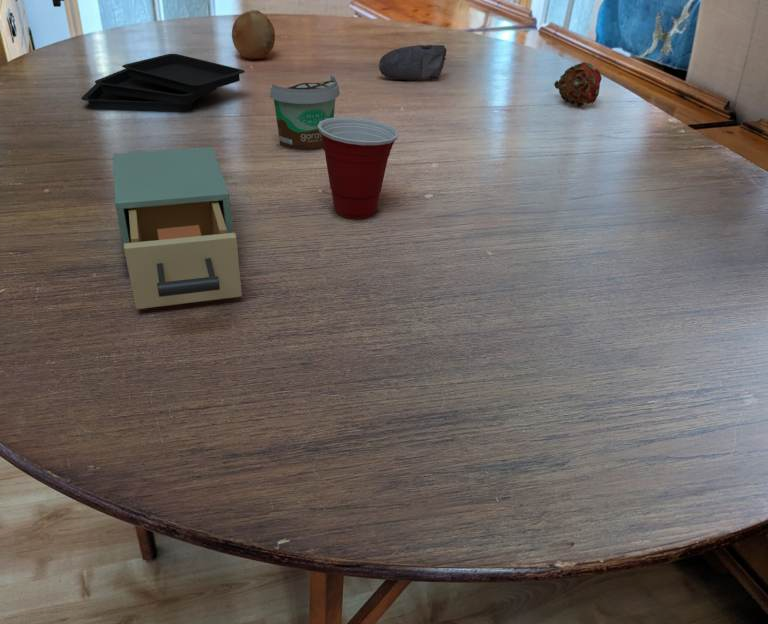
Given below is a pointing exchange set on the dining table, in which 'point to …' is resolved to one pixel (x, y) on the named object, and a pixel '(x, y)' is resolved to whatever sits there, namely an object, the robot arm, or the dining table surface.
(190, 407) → the dining table surface
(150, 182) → the cabinet
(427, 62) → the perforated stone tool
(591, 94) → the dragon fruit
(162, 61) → the tray
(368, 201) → the plastic cup
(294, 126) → the food container
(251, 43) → the brown oval lump
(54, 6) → the robot arm
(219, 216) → the drawer
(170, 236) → the block
